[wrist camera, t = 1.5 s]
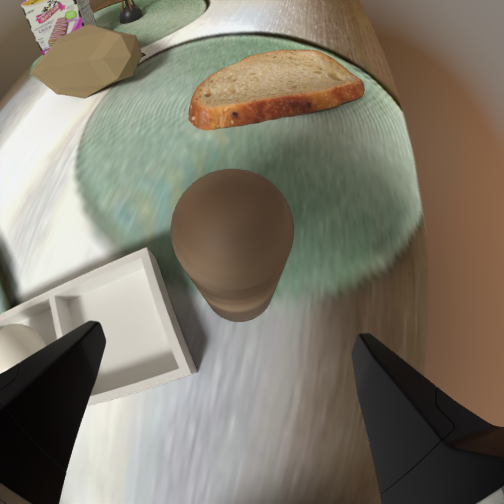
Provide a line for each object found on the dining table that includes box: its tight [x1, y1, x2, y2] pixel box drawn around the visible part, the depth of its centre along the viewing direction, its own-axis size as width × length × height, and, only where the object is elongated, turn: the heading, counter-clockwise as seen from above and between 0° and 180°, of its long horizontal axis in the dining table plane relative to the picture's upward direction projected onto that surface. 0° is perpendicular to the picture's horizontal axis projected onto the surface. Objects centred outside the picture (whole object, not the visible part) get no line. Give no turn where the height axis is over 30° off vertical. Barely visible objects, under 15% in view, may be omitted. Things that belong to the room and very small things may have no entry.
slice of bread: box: [189, 50, 364, 130], centre depth 28 cm, size 18×18×4 cm
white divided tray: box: [0, 247, 198, 406], centre depth 18 cm, size 9×18×2 cm, turn 113°
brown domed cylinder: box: [171, 169, 294, 322], centre depth 15 cm, size 5×5×12 cm
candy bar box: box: [21, 0, 97, 56], centre depth 28 cm, size 11×5×16 cm, turn 92°
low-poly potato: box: [31, 24, 146, 98], centre depth 26 cm, size 15×11×12 cm
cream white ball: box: [0, 323, 47, 374], centre depth 15 cm, size 6×6×6 cm
